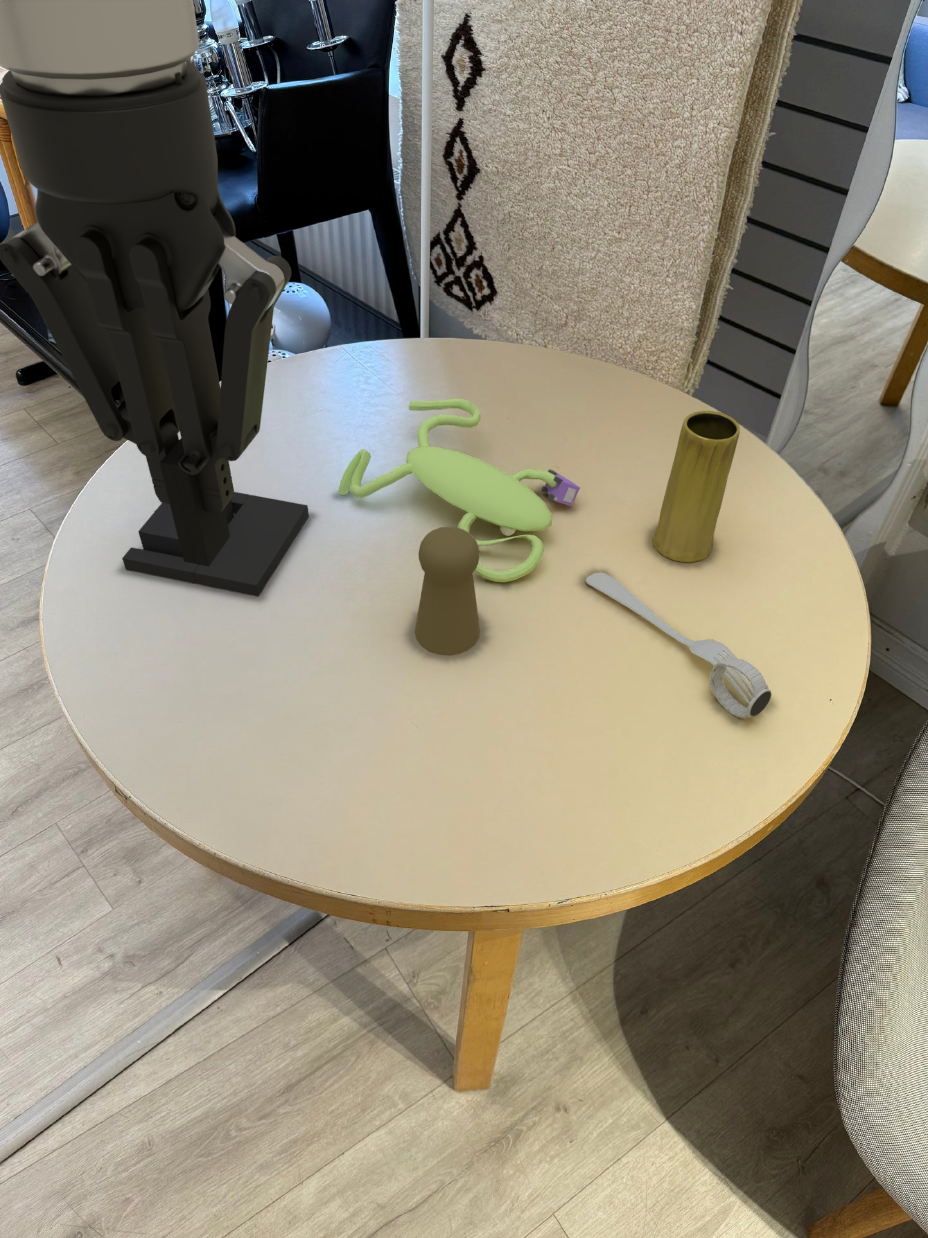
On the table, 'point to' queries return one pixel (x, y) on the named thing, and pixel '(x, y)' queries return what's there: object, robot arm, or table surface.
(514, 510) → the figurine
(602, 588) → the fork
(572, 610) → the table surface
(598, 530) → the table surface
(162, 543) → the charcoal pad
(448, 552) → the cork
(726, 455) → the vase
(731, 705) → the ring
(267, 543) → the black pad
